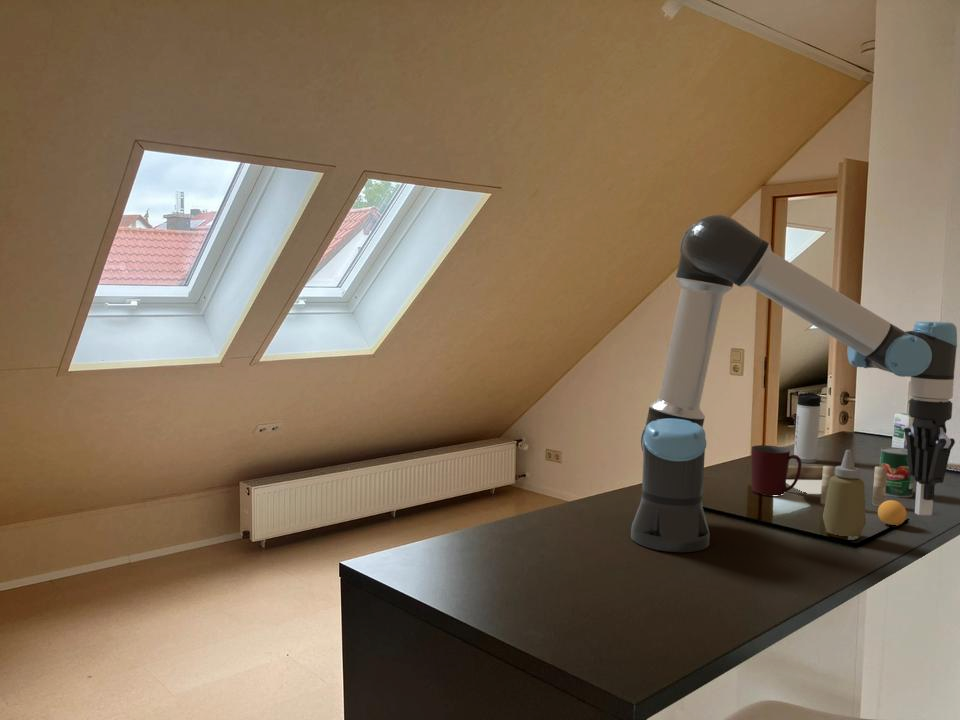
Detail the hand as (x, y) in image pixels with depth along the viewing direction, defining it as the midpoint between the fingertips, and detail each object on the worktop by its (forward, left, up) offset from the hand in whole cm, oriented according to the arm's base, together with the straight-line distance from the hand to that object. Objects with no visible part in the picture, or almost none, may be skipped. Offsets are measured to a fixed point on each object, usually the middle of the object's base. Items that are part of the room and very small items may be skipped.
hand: (923, 514), depth 161 cm
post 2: (+6, +26, -6) cm, 27 cm away
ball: (0, +10, -3) cm, 10 cm away
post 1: (-7, +26, -6) cm, 27 cm away
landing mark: (0, +42, -6) cm, 42 cm away
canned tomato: (+17, +37, -6) cm, 41 cm away
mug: (-15, +35, -6) cm, 39 cm away
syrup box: (+41, +72, -6) cm, 83 cm away
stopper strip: (0, +52, -6) cm, 52 cm away
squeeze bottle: (-15, +2, -6) cm, 17 cm away
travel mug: (+11, +73, -6) cm, 74 cm away
